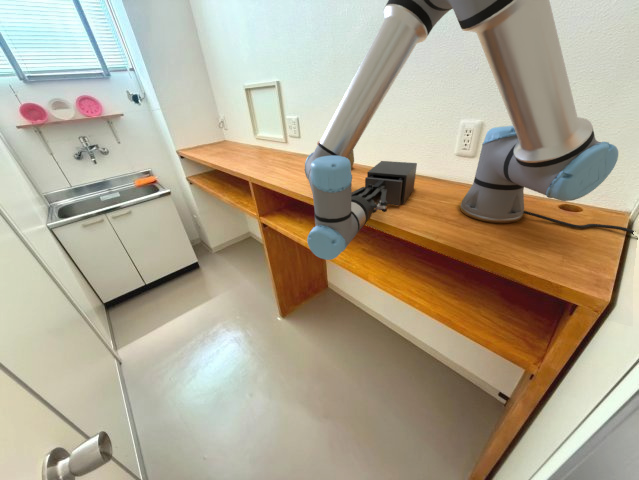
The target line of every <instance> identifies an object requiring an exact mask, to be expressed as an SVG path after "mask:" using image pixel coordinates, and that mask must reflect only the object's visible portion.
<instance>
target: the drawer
mask: <svg viewBox="0 0 639 480" xmlns="http://www.w3.org/2000/svg"><path fill="white" fill-rule="evenodd" d="M379 180H385V185H384V186H385V188H384V189H386V190H387V195H386V201H387V205H390V206H397V207H399V206H400V205H401V204H400V200H401V198H402V191H403V182H404V178H402V177H391V176H379V175H372V176H370V177H367V176H366V177H365V179H364V184H365V185H364V187H366V189H367V188H368V185H369V184H371V185H375V184H376V183H377V182H378V181H379ZM379 201H381V199H378V200H377V202H376V204H378V203H379Z"/></svg>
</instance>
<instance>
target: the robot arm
mask: <svg viewBox="0 0 639 480" xmlns="http://www.w3.org/2000/svg"><path fill="white" fill-rule="evenodd" d="M451 10H453V13H454V15H455V17H456V19H457V22H458V24H459V27H460V29H461V31H463V32H470V33H471V32H472V33H474V34H475V33H476V35H477V38H478V41H479V43H480V46H481V48H482V50H483V54H484V55H485V58H486V61H487V64H488V66H489V69H490V72H491V73H492V77H493V78H494V82H495V84H496V86H497V89H498V91H499V94H500V96H501V100H502V101H503V104H504V106H505V107H504V108H505V110H506V111H507V114H508V117H509V120H510V122H511V125H505V126H496V127H495V126H494V127H491V128H489V130H488V131H487V132H486V134H485V137H484V140H483V142H482V144H481V150H480V154H479V158H478V162H477V167H476V171H475V174H474V179H473V183H472V184H471V186H470V188H469V189H468V191H467V192H466V194H465V196H464V197H463V198H462V200H461V203H460V207H459V210H460V211H461V212H462V213H463V214H464V215H466V216H467V217H469V218H471V219H474V220H476V221H477V220H478V221H481V222H486V223H491V224H511V223H516V222H519V221H520V220H521V219H522V217H523V215H524V214H525V215H527V216H532V217H536V218H538V219H542V220H545V221H549V222H552V223H554V224H559V225H562V226H566V227H570V228H574V229H588V228H602V229H611V230H618V231H623V232H626V233H629V234H630V235H633V236H634V234H633V232H634V231H635V230H633V229H631V228H628V227H623V226H620V225H619V226H618V225H611V224H601V223H587V224H583V225H581V224H575V223H574V224H573V223H570V222H567V221H563V220H559V219H555V218H551V217H550V216H549V217H548V216H545V215H543V214H539V213H535V212H531V211H527V210H525V197H524V195H525V194H524V189H528V190H530V191H533V192H536V193H538V194H541V195H544V196H546V197H547V198H548V199H554V200H557V201H560V202H572V201H576V200H579V199H581V198H583V197H585V196H587V195H589V194H590V193H592V192H593V191H594V190H596V189H597V188H598V187H599V186H601V184H602V183H604V181H605V180H607V178H608V177H609V175H611V173H612V172H613V170H614V168H615V167H616V165H617V162H618V159H619V149H618V148H617V146H616V145H615V144H612V143H610V142H609V141H598V140H597V139H596V136H595V132H594V126H593V124H592V122H591V121H590V120H589V119H587V118H584V117H580V116H578V114H577V110H576V106H575V101H574V97H573V93H572V90H571V85H570V80H569V77H568V72H567V68H566V64H565V59H564V55H563V51H562V48H561V47H562V46H561V43H560V38H559V35H558V34H559V33H558V30H557V27H556V26H557V25H556V21H555V18H554V14H553V10H552V6H551V1H550V0H387V2H386V4H385V6H384V7H383V21H382V24H381V25H380V28H379V29H378V31H377V33H376V35H375V36H374V39H373V41H372V42H371V44H370V46H369V48H368V50H367V52H366V53H365V55H364V57H363V59H362V61H361V63H360V65H359V66H358V68H357V71H356V72H355V74H354V76H353V78H352V79H351V82H350V84H349V85H348V88H347V90H346V91H345V92H344V95H343V97H342V99H341V101H340V103H339V104H338V107H337V108H336V110H335V112H334V114H333V116H332V118H331V119H330V121H329V123H328V125H327V127H326V129H325V131H324V133H323V134H322V135H321V138H320V140H319V141H320V142H319V144H318V145H316V147H315V148H314V151H313V152H311V153H310V154H309V155H307V158H306V159H305V162H304V173H305V176H306V179H307V181H308V184H309V187H310V189H311V194H312V199H313V208H314V209H313V210H314V224H315V225H314V226H313V227H312V228H311V230H310V231H309V233H308V235H307V239H306V241H307V246H308V248H309V250H310V251H311V253H312V254H313V255H314V256H316V257H317V258H320V259H322V260H325V261H331V260H334V259H336V258H337V257H338V256H339V255H341V253H343V252H344V251H345V250H346V248H347V247H348V246H349V244H350V243H351V242H352V241H353V239H354V238H355V237H356V236H357V234H358V233H359V232H360V231H361V229H362V228H363V227H364V226H365V225H366V224H367V223H368V221H369V220H370V219H371V217H372V215H373V214H374V213H376V212H377V211H381V212H383V213H386V212H388V204H387V201H386V195H387V190H386V189H384V188H385V186H384V185H385V180H379V181H378V182H377V183H376V184H375V185H371V184H369V185H368V188H367V189H366V187H365V186H362V187H359V188H358V189H356V190H354V191H352V186H353V185H352V183H353V174H352V169H351V163H350V161H349V159H348V157H349V156H350V154H351V152H352V151H353V152H354V149H355V147H356V146H357V144H358V143H359V141H360V139H361V137H363V134H364V132H365V131H366V129H367V127H368V126H369V124H370V123H371V121H372V119H373V117H374V116H375V114H376V113H377V111H378V109H379V108H380V106H381V104H382V103H383V101H384V99H385V98H386V96H387V94H388V93H389V91H390V89H391V88H392V86H393V85H394V83H395V81H396V79H397V77H398V76H399V74H400V73H401V71H402V69H403V68H404V66H405V64H406V63H407V61H408V59H409V57H410V56H411V55H412V53H413V51H414V49H415V48H416V46H417V44H420V43H423V42H425V41H426V40H427V38H428V37H429V35H430V33H431V31H432V30H433V28H434V27H435V26H436V24H437V23H438V22H439V21H440V20H441V19H442V18H443V17H444V16H445V15H446V14H448V13H449V12H450V11H451ZM378 199H381V201H379V203H376V202H377V200H378Z"/></svg>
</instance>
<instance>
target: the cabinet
mask: <svg viewBox="0 0 639 480" xmlns="http://www.w3.org/2000/svg"><path fill="white" fill-rule="evenodd" d="M417 166H418V163H417V162H407V161H405V162H404V161H390V160H380V162H378V163H377V164H375V165H374V166H373V167H372V168H371V169H369V170H368V171H367V175H366V177H370V176H372V175H379V176H391V177H402V178H404V182H403V191H402V198H401V200H400V205H405V204H406V202H407V200H408V199H409V197H410V196H411V194H412V193H413V191H414V190H415V182H416V174H417Z"/></svg>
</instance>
